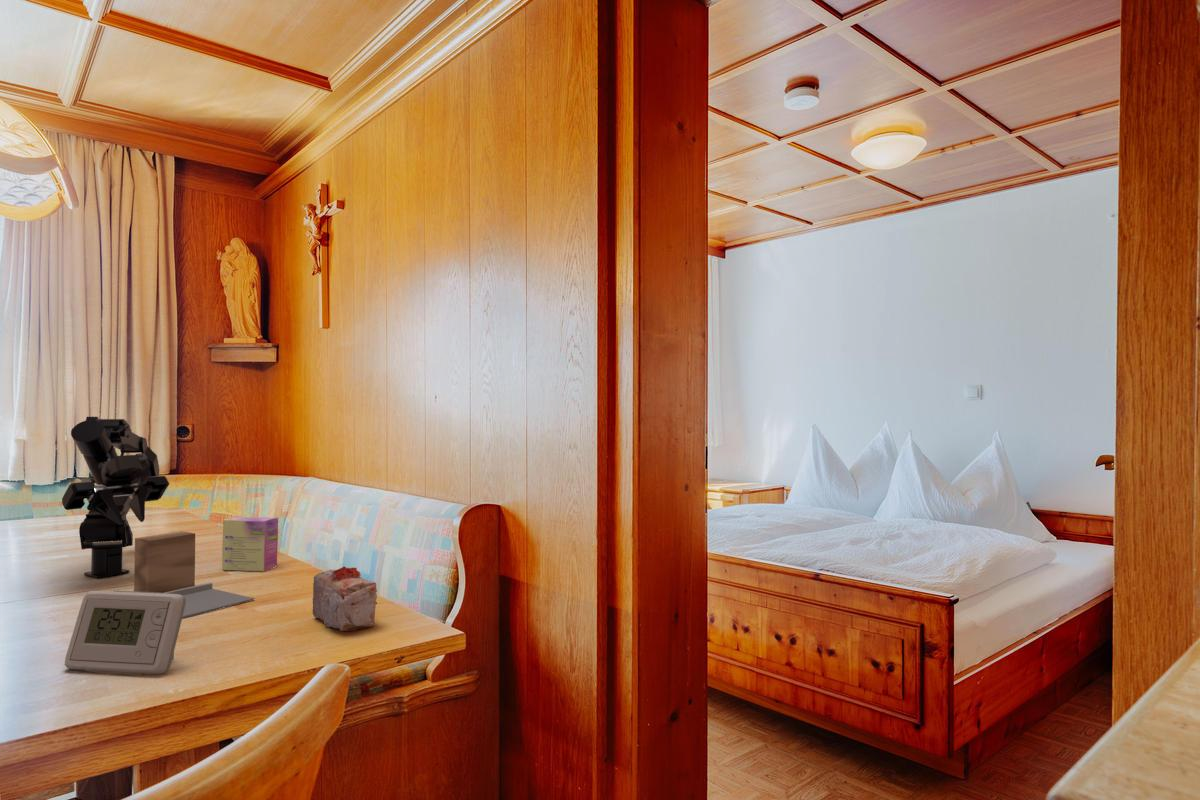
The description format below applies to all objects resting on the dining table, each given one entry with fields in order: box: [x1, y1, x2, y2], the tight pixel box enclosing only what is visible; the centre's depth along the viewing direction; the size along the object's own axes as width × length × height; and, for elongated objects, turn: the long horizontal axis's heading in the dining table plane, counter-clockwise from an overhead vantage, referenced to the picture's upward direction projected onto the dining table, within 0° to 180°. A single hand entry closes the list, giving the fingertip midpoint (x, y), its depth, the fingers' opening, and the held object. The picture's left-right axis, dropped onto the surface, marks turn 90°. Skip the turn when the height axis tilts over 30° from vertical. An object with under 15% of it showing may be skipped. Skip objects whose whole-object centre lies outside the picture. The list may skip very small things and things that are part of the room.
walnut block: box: [133, 530, 196, 593], centre depth 140 cm, size 5×9×12 cm, turn 150°
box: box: [221, 515, 279, 573], centre depth 163 cm, size 10×6×12 cm, turn 84°
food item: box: [312, 566, 378, 632], centre depth 123 cm, size 14×8×10 cm, turn 46°
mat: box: [163, 582, 256, 620], centre depth 134 cm, size 15×14×2 cm
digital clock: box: [64, 590, 186, 676], centre depth 102 cm, size 16×9×11 cm, turn 72°
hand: (132, 522), depth 146 cm, fingers open, 4 cm apart
